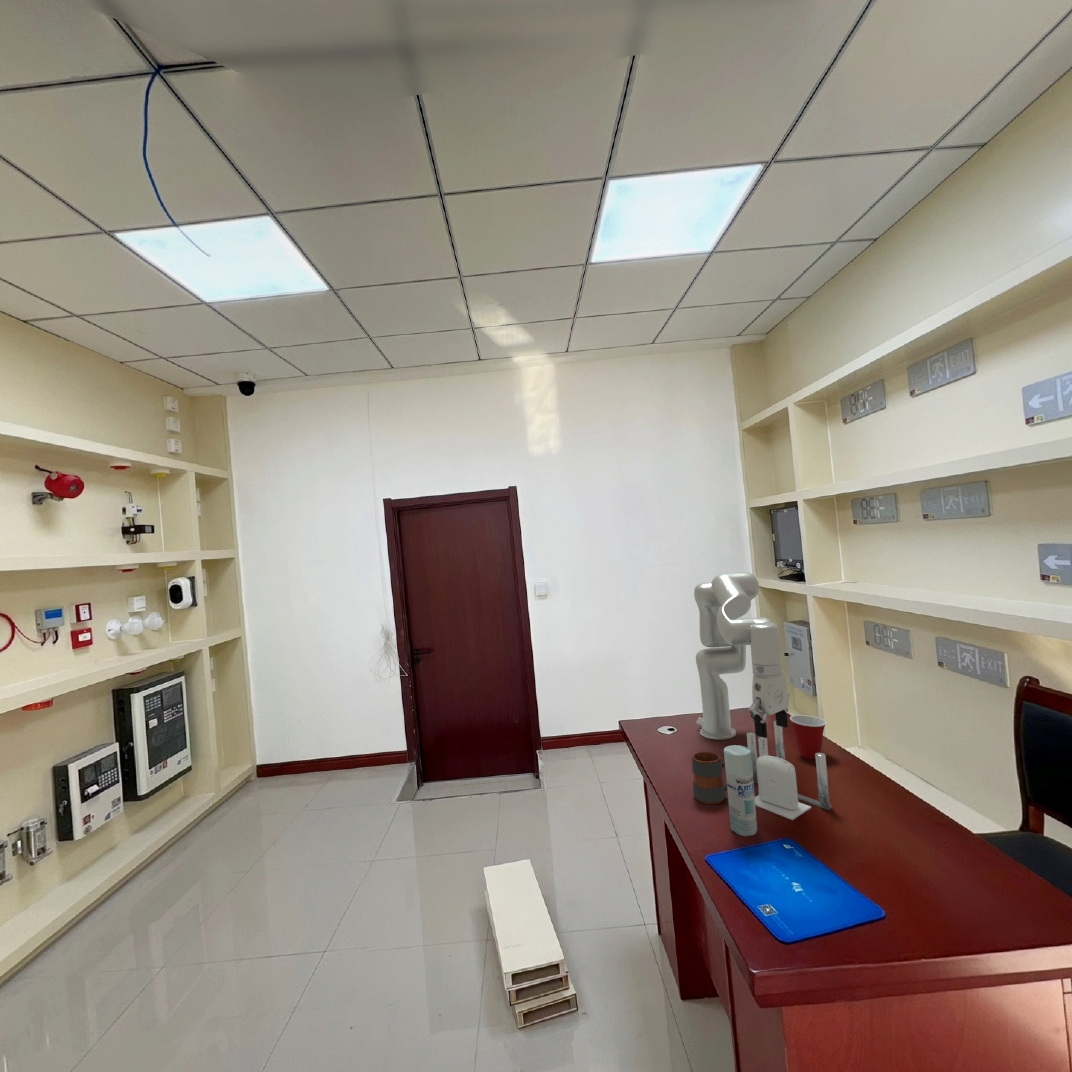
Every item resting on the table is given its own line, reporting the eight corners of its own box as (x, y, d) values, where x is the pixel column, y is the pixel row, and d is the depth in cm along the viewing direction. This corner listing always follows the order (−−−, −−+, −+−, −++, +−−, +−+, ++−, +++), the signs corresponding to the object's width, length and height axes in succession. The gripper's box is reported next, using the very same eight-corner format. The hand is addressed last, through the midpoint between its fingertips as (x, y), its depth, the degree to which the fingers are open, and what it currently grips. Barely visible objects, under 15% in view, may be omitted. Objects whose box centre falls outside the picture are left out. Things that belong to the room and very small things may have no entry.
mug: (741, 804, 150) (737, 762, 150) (696, 805, 151) (692, 763, 152) (734, 790, 158) (730, 750, 159) (691, 791, 160) (688, 751, 160)
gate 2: (759, 786, 160) (755, 738, 160) (764, 783, 161) (760, 736, 161) (828, 810, 143) (823, 757, 144) (832, 807, 145) (828, 754, 145)
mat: (747, 802, 151) (747, 801, 151) (766, 791, 156) (766, 790, 156) (792, 820, 140) (792, 818, 140) (811, 808, 145) (811, 806, 145)
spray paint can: (744, 820, 142) (738, 743, 142) (763, 832, 136) (756, 751, 136) (724, 827, 139) (718, 748, 140) (742, 839, 133) (736, 757, 134)
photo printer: (756, 799, 151) (752, 755, 151) (765, 794, 154) (761, 750, 154) (793, 812, 143) (789, 765, 143) (801, 806, 146) (797, 760, 146)
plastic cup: (837, 760, 172) (834, 722, 173) (804, 764, 172) (800, 725, 172) (817, 748, 183) (814, 712, 183) (786, 751, 183) (783, 715, 183)
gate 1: (747, 780, 164) (743, 733, 164) (779, 763, 174) (776, 719, 174) (756, 783, 162) (752, 736, 162) (788, 766, 171) (784, 721, 171)
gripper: (760, 678, 141) (765, 744, 141) (798, 664, 150) (802, 726, 151) (735, 673, 147) (740, 736, 147) (772, 660, 157) (777, 719, 157)
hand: (771, 731), depth 149 cm, fingers open, 9 cm apart
